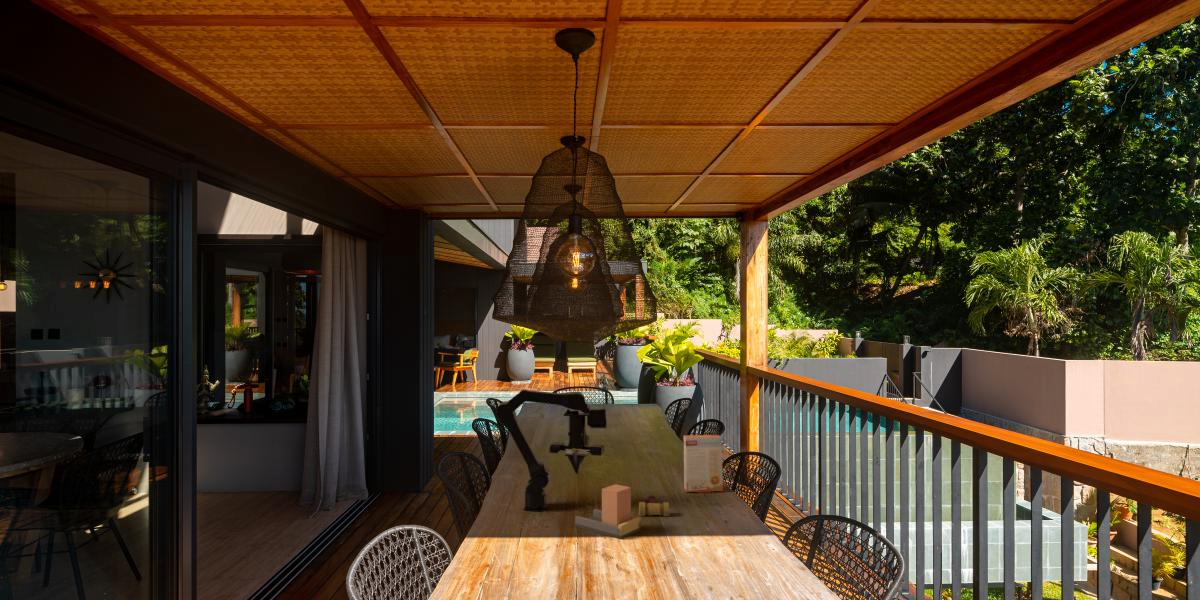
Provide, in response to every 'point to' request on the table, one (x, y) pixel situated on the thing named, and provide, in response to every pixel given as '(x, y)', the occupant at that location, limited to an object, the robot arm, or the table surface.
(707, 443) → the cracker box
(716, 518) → the table surface
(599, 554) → the table surface
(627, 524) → the gray tray
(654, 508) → the gavel
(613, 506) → the block
